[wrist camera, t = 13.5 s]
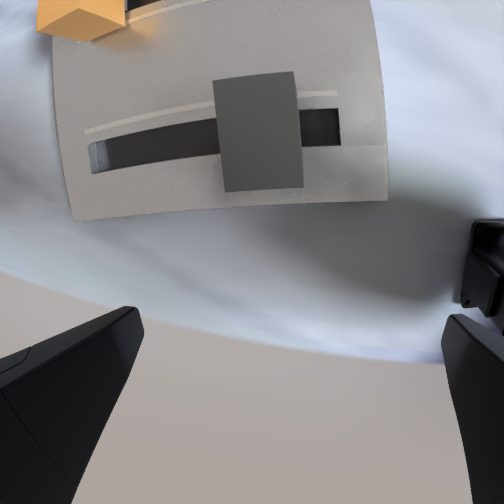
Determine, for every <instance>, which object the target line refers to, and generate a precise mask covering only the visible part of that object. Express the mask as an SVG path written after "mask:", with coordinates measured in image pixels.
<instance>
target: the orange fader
mask: <svg viewBox="0 0 504 504" xmlns="http://www.w3.org/2000/svg"><path fill="white" fill-rule="evenodd" d="M126 11H127V0H38V9H37V24H36V32H39V33H45V34H50V35H55V36H60V37H64V38H69V39H73V40H78V41H82V42H87V41H90V40H92V39H94V38H97V37H99V36H102V35H104V34H107V33H109V32H112V31H114V30H117V29H119V28H122V27H125V12H126Z"/></svg>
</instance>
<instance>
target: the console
mask: <svg viewBox="0 0 504 504" xmlns="http://www.w3.org/2000/svg"><path fill="white" fill-rule="evenodd" d="M52 63H53V86H54V101H55V112H56V122H57V131H58V139H59V146H60V153H61V159H62V166H63V171H64V177H65V183H66V188H67V193H68V198H69V203H70V207H71V212H72V216H73V220H74V222H80V221H88V220H97V219H106V218H115V217H124V216H134V215H144V214H154V213H165V212H176V211H188V210H201V209H214V208H228V207H243V206H260V205H278V204H298V203H322V202H354V201H388V151H387V130H386V114H385V102H384V91H383V82H382V73H381V65H380V57H379V50H378V44H377V37H376V31H375V26H374V20H373V15H372V10H371V5H370V0H127V11H126V12H125V27H122V28H119V29H117V30H114V31H112V32H109V33H107V34H104V35H102V36H99V37H97V38H94V39H92V40H90V41H87V42H82V41H78V40H73V39H69V38H64V37H60V36H55V35H52ZM290 71H293V72H294V78H295V83H296V91H297V100H298V110H299V121H300V132H301V144H302V157H303V170H304V188H287V189H270V190H254V191H240V192H227V193H225V188H224V179H223V171H222V163H221V154H220V146H219V137H218V128H217V120H216V111H215V102H214V92H213V83H212V81H214V80H220V79H226V78H233V77H241V76H249V75H257V74H267V73H278V72H290Z"/></svg>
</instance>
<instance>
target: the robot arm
mask: <svg viewBox="0 0 504 504" xmlns="http://www.w3.org/2000/svg"><path fill="white" fill-rule="evenodd" d="M479 226H480V227H481V228H480V230H479V231H477V229H478V227H479ZM466 300H467V302H465V301H466ZM464 302H465V303H464ZM460 304H461V306H462V307H463V308H473V307H478V308H479V309H480V310H481V312H482V313H483V314H484V316H485V317H486V318H489V317H490V319H491V320H492V321H493V323H494V324H495V326H496V327H497V328H498V330H499V331H500V333H501V334H502V335H503V336H504V220H478V221H476V222H474V224H473V225H472V231H471V239H470V246H469V252H468V253H467V258H466V264H465V270H464V275H463V281H462V292H461V297H460ZM143 337H144V328H143V324H142V321H141V317H140V313H139V310H138V309H137V308H136V307H132V306H123V307H121V308H118V309H116V310H114V311H111V312H109V313H107V314H104V315H102V316H100V317H98V318H95V319H93V320H91V321H88V322H86V323H84V324H81V325H79V326H77V327H74V328H72V329H70V330H67V331H65V332H63V333H61V334H58V335H56V336H53V337H51V338H49V339H46V340H44V341H42V342H40V343H37V344H35V345H33V346H32V347H31V346H30V347H28V348H25V349H23V350H21V351H18V352H16V353H14V354H11V355H9V356H6V357H4V358H1V359H0V504H71V503H72V500H73V498H74V495H75V493H76V491H77V487H78V486H79V483H80V481H81V478H82V476H83V474H84V472H85V469H86V467H87V465H88V462H89V460H90V458H91V456H92V453H93V451H94V449H95V447H96V445H97V442H98V440H99V438H100V436H101V434H102V431H103V429H104V427H105V425H106V423H107V421H108V419H109V417H110V414H111V412H112V410H113V408H114V406H115V404H116V402H117V400H118V398H119V396H120V394H121V392H122V390H123V388H124V385H125V383H126V381H127V379H128V377H129V374H130V372H131V369H132V367H133V364H134V361H135V358H136V356H137V353H138V351H139V348H140V345H141V343H142V340H143ZM441 347H442V352H443V357H444V362H445V367H446V373H447V378H448V384H449V389H450V393H451V397H452V401H453V404H454V408H455V412H456V416H457V420H458V424H459V429H460V433H461V437H462V442H463V447H464V451H465V456H466V462H467V468H468V473H469V479H470V485H471V494H472V501H473V504H504V338H503V337H501V336H499V335H498V334H496V333H494V332H493V331H491V330H489V329H487V328H486V327H484V326H482V325H481V324H479V323H477V322H476V321H474V320H472V319H470V318H469V317H467V316H465V315H463V314H451V315H450V316H449V317H448V319H447V322H446V325H445V329H444V332H443V335H442V339H441Z"/></svg>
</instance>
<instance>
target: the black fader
mask: <svg viewBox="0 0 504 504" xmlns="http://www.w3.org/2000/svg"><path fill="white" fill-rule="evenodd" d="M212 83H213V92H214V102H215V111H216V120H217V128H218V137H219V146H220V154H221V163H222V171H223V179H224V188H225V193H227V192H240V191H254V190H270V189H287V188H304V170H303V157H302V144H301V132H300V121H299V110H298V100H297V91H296V83H295V78H294V72H293V71H290V72H278V73H267V74H257V75H249V76H241V77H233V78H226V79H220V80H214V81H212Z"/></svg>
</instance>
